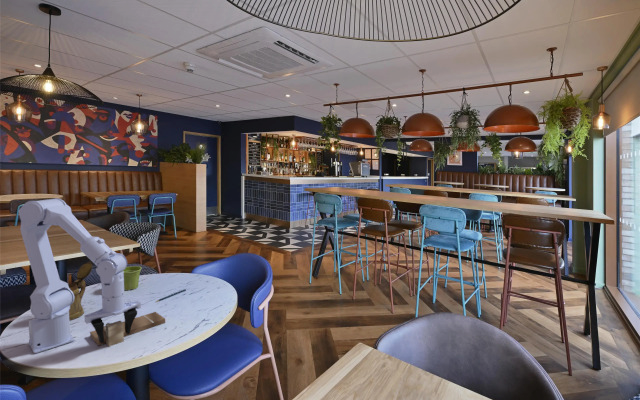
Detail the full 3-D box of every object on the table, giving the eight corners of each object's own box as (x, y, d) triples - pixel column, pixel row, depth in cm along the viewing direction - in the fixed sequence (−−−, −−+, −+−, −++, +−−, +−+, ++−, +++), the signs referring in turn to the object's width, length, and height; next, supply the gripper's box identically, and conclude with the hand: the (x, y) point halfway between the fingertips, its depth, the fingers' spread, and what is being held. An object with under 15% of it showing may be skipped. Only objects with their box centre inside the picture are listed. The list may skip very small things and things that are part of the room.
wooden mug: (101, 308, 122) (99, 262, 120) (63, 323, 109) (60, 272, 107) (85, 304, 125) (83, 259, 123) (45, 319, 112) (43, 269, 110)
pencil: (186, 291, 141) (155, 303, 128) (184, 290, 142) (154, 303, 128) (186, 289, 141) (155, 301, 128) (184, 289, 142) (153, 301, 128)
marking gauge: (109, 346, 96) (108, 327, 95) (100, 336, 101) (99, 318, 101) (123, 341, 99) (123, 323, 98) (114, 332, 104) (113, 314, 104)
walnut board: (98, 345, 96) (98, 340, 96) (90, 336, 101) (90, 331, 101) (165, 322, 111) (165, 318, 111) (155, 315, 117) (155, 311, 116)
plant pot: (134, 292, 138) (133, 272, 137) (112, 291, 138) (112, 272, 137) (146, 284, 147) (145, 266, 147) (126, 284, 147) (125, 265, 147)
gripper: (88, 305, 89) (90, 351, 90) (144, 291, 100) (145, 332, 101) (81, 298, 93) (83, 342, 95) (135, 285, 104) (136, 325, 106)
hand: (114, 337), depth 98 cm, fingers open, 6 cm apart
